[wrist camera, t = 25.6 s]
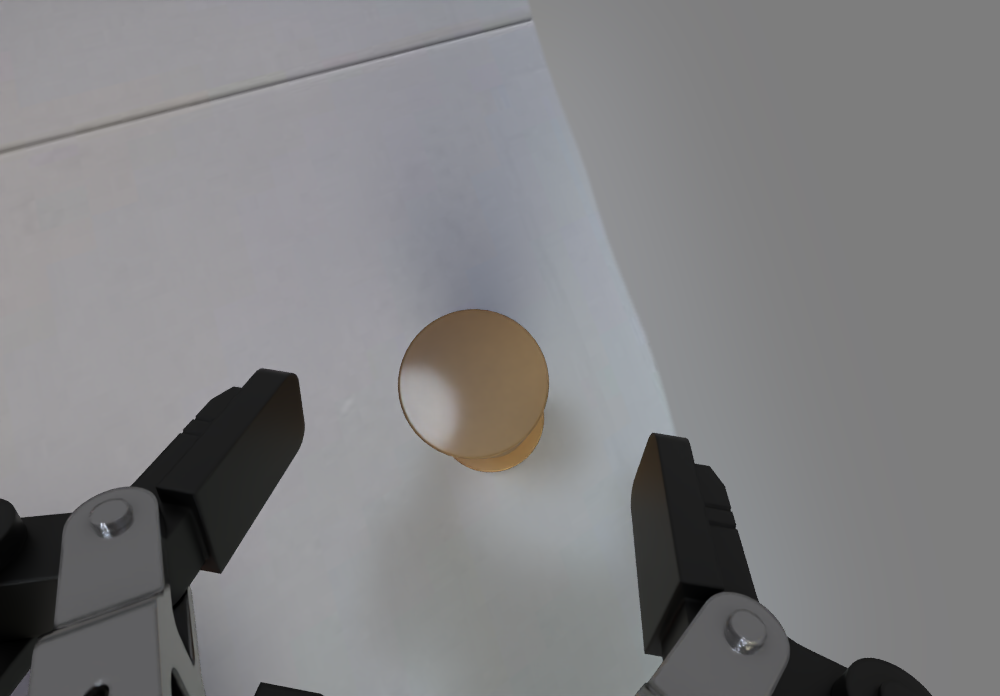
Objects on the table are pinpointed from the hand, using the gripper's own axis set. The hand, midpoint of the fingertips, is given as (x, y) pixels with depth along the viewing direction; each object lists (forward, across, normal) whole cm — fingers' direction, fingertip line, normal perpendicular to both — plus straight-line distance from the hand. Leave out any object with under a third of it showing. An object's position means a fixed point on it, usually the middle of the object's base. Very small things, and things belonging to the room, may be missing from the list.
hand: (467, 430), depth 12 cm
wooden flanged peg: (+10, 0, +9) cm, 13 cm away
